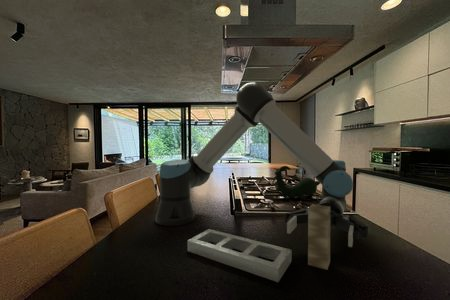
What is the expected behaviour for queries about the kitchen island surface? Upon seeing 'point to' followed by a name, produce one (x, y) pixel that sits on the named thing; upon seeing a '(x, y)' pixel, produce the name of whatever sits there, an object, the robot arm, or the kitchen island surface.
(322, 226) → the peg
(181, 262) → the kitchen island surface
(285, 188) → the toy figurine
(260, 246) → the grey flat slotted block
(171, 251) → the kitchen island surface
